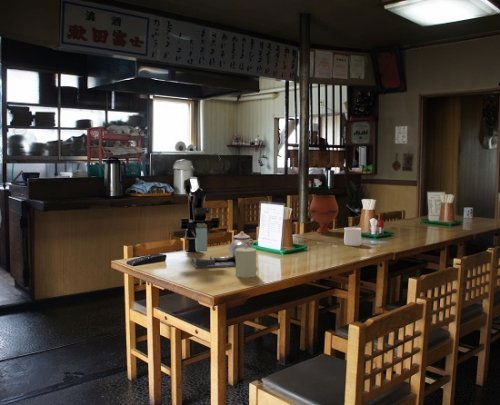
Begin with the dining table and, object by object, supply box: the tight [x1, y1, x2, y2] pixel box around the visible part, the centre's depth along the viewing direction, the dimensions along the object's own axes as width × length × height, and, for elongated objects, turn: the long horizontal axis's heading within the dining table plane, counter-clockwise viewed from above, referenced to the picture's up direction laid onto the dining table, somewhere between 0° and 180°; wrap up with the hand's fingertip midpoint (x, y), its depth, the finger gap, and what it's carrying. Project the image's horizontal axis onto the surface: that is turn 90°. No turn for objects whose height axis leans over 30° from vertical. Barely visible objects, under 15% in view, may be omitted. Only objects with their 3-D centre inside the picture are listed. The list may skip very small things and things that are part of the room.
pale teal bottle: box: [195, 223, 208, 253], centre depth 232 cm, size 5×5×13 cm
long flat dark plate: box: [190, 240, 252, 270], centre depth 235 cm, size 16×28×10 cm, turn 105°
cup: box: [343, 226, 362, 247], centre depth 284 cm, size 10×10×10 cm
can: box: [234, 247, 257, 279], centre depth 212 cm, size 9×9×12 cm
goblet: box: [309, 194, 339, 234], centre depth 330 cm, size 19×19×25 cm
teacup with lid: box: [233, 231, 254, 248], centre depth 260 cm, size 12×9×12 cm
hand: (201, 237), depth 230 cm, fingers closed on pale teal bottle, 5 cm apart
